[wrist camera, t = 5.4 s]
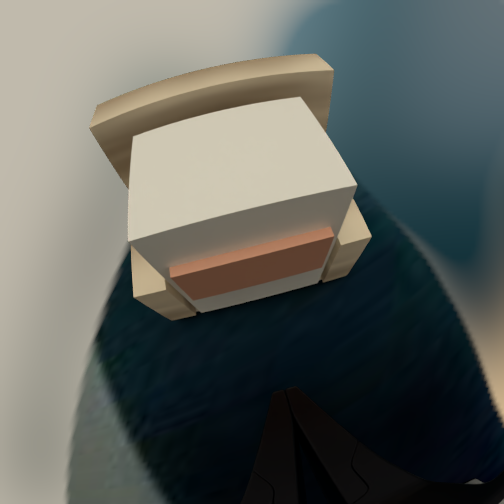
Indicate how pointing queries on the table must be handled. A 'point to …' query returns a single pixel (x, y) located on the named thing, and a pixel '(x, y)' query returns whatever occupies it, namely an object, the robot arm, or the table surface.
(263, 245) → the white box
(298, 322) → the table surface
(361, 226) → the beige toy armchair
